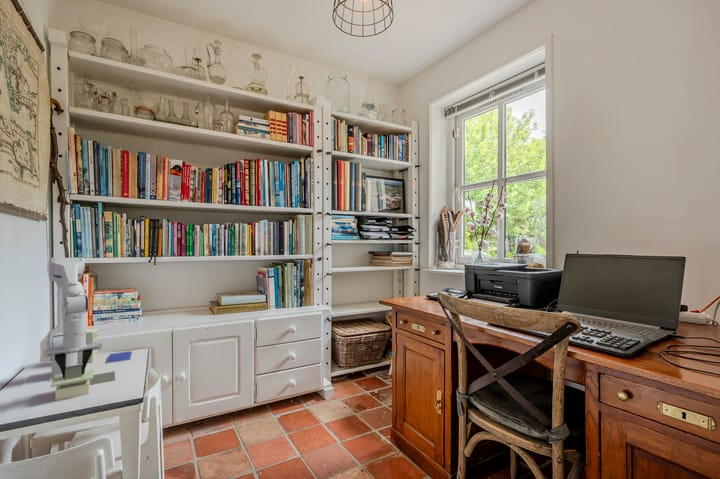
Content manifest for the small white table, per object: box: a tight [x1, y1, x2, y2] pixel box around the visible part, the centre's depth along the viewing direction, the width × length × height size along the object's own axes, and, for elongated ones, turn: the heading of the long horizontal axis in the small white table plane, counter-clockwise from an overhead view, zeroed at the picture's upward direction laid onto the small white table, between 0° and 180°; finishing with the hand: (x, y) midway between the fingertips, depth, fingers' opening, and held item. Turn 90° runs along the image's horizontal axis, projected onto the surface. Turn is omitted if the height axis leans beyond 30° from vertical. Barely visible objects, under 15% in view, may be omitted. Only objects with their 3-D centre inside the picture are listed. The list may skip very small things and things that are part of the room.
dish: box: [55, 380, 91, 401], centre depth 109 cm, size 8×8×4 cm
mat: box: [90, 371, 116, 386], centre depth 120 cm, size 11×11×1 cm
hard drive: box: [106, 350, 133, 364], centre depth 144 cm, size 2×8×12 cm
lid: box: [50, 363, 95, 388], centre depth 109 cm, size 10×10×4 cm
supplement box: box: [77, 328, 99, 364], centre depth 142 cm, size 7×7×13 cm
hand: (73, 375), depth 109 cm, fingers closed on lid, 4 cm apart
